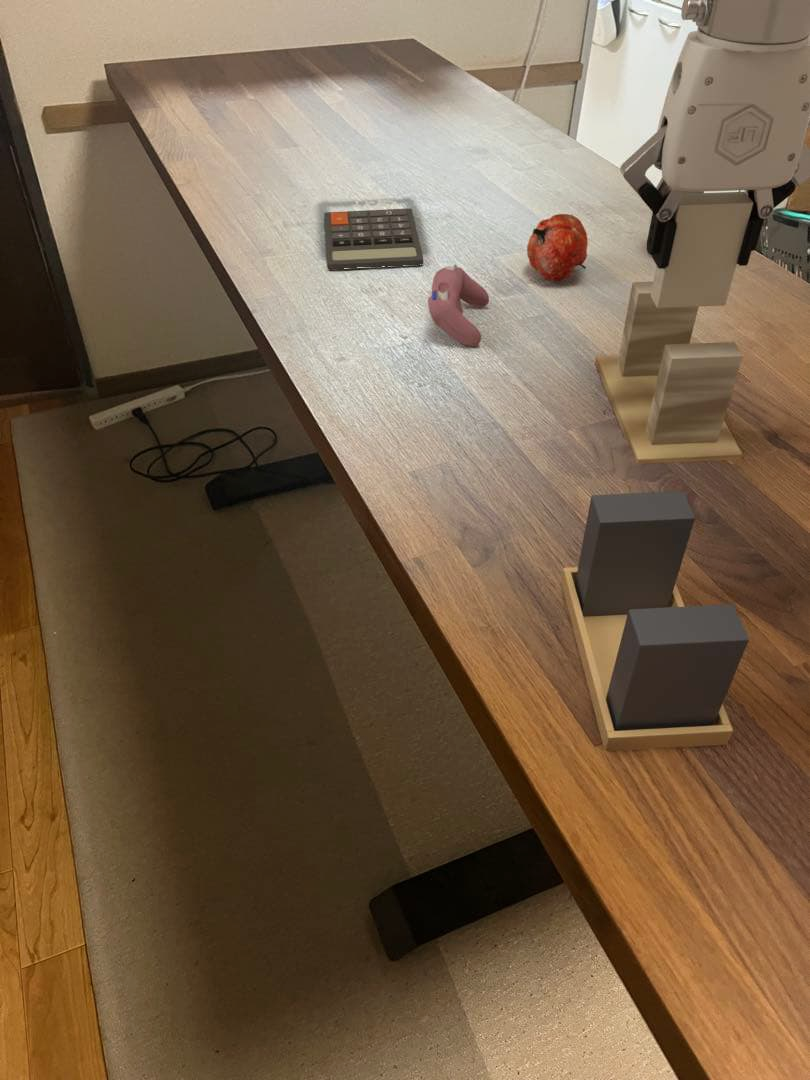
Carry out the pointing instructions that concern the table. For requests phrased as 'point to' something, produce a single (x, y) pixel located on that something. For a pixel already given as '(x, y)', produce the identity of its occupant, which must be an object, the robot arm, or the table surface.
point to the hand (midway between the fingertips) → (698, 257)
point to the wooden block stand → (670, 385)
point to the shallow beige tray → (598, 659)
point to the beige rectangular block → (703, 250)
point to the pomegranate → (558, 247)
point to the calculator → (371, 239)
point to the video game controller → (456, 303)
